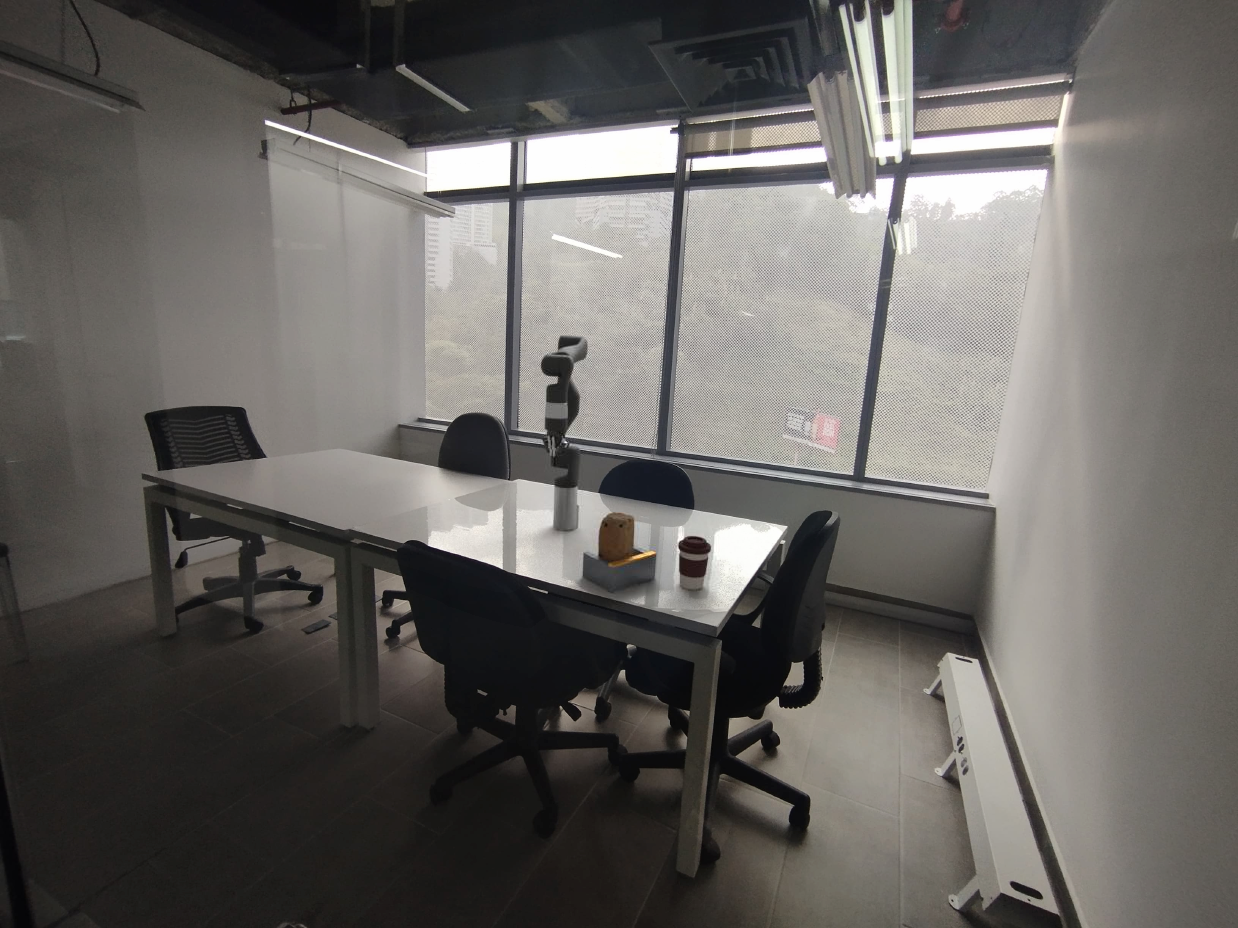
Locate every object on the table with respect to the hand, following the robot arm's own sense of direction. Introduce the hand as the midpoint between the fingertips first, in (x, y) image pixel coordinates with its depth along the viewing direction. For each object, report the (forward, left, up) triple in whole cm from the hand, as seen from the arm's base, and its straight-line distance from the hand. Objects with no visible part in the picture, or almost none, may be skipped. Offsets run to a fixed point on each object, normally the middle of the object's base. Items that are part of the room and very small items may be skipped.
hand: (554, 466), depth 180 cm
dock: (-4, +29, -30) cm, 42 cm away
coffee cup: (-19, +47, -31) cm, 60 cm away
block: (-4, +28, -31) cm, 42 cm away
